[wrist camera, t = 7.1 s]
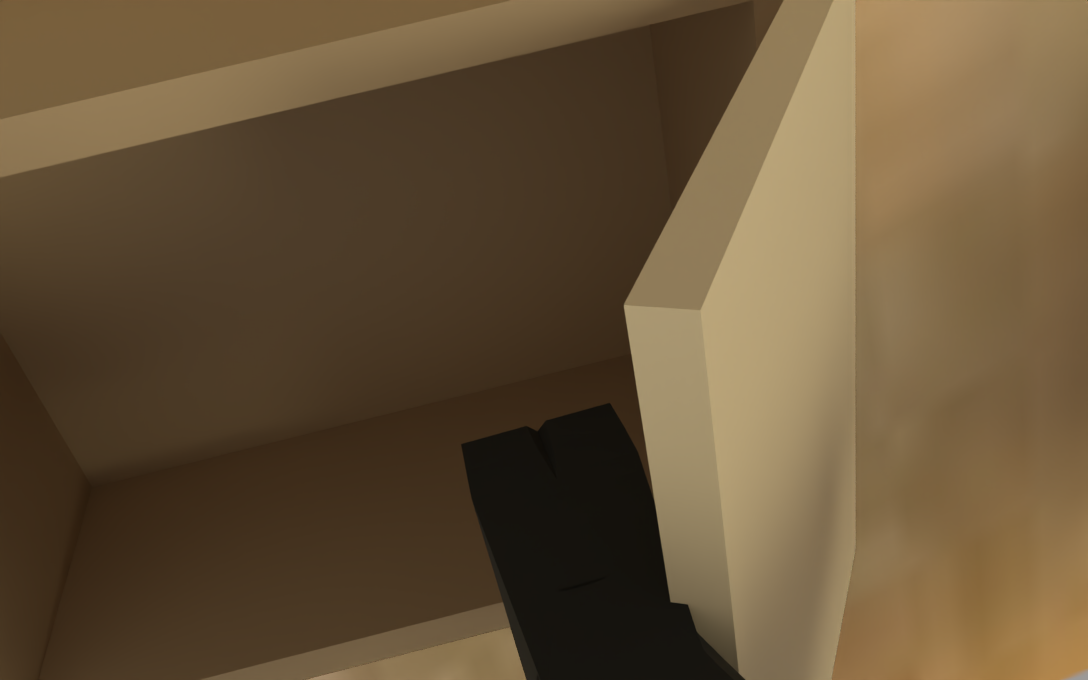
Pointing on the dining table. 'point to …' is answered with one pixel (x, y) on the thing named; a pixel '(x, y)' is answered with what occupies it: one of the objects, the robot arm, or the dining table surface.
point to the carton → (312, 304)
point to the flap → (761, 358)
